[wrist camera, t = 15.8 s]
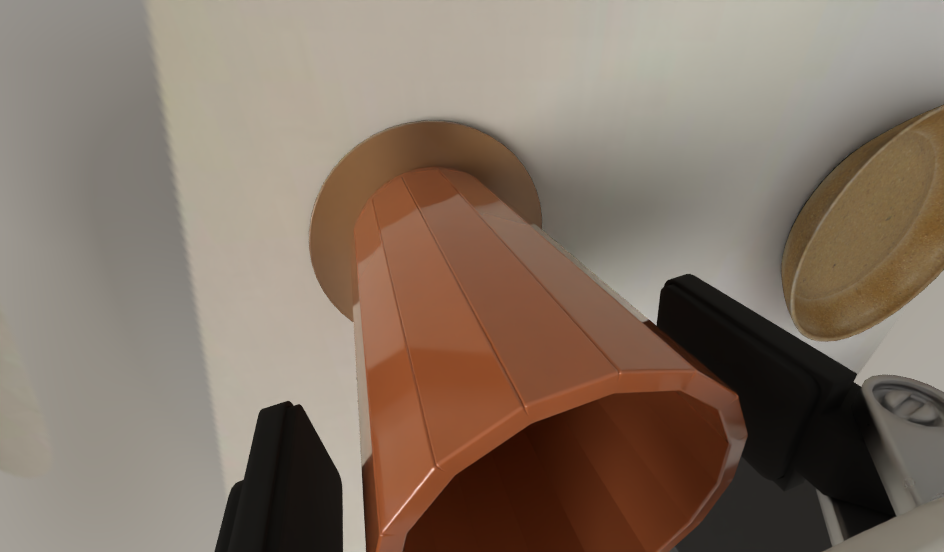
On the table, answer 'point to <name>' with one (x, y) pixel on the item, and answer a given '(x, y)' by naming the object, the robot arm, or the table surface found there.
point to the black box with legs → (760, 518)
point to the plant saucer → (869, 233)
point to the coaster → (393, 158)
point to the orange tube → (519, 388)
